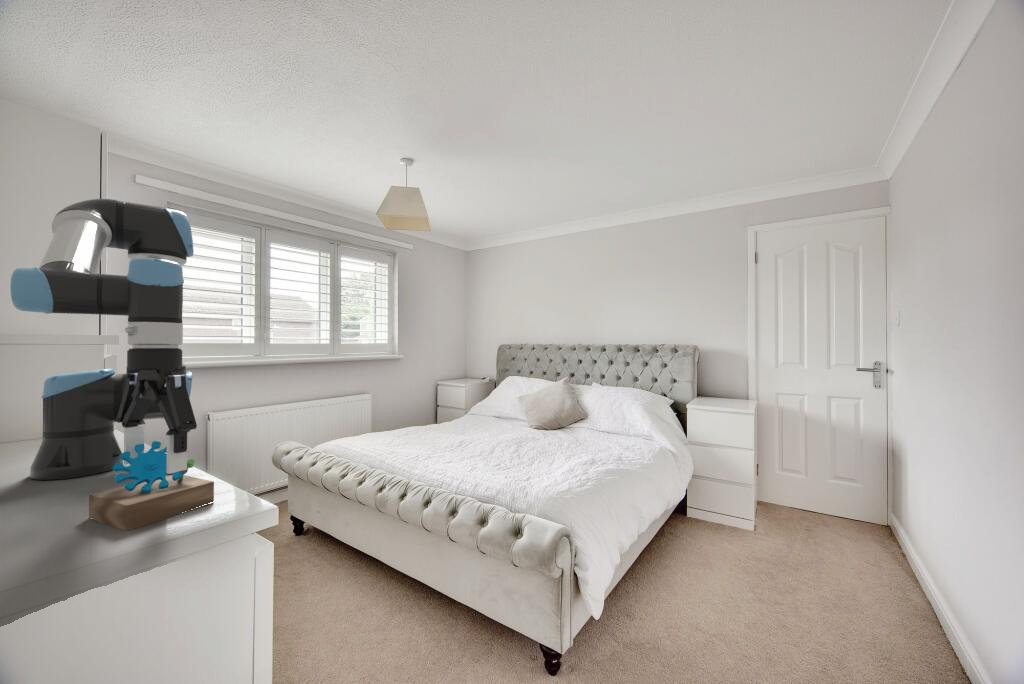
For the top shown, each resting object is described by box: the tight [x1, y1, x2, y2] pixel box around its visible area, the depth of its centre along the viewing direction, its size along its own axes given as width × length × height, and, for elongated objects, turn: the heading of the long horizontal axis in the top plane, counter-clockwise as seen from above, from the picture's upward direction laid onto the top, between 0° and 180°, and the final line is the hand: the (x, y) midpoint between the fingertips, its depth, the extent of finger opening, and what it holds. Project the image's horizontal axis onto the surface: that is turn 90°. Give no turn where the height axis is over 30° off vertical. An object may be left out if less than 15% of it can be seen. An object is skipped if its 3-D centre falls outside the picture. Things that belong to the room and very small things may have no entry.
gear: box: [112, 440, 195, 493], centre depth 76 cm, size 11×6×10 cm
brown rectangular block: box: [88, 474, 215, 532], centre depth 75 cm, size 12×13×4 cm
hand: (154, 466), depth 75 cm, fingers open, 13 cm apart
